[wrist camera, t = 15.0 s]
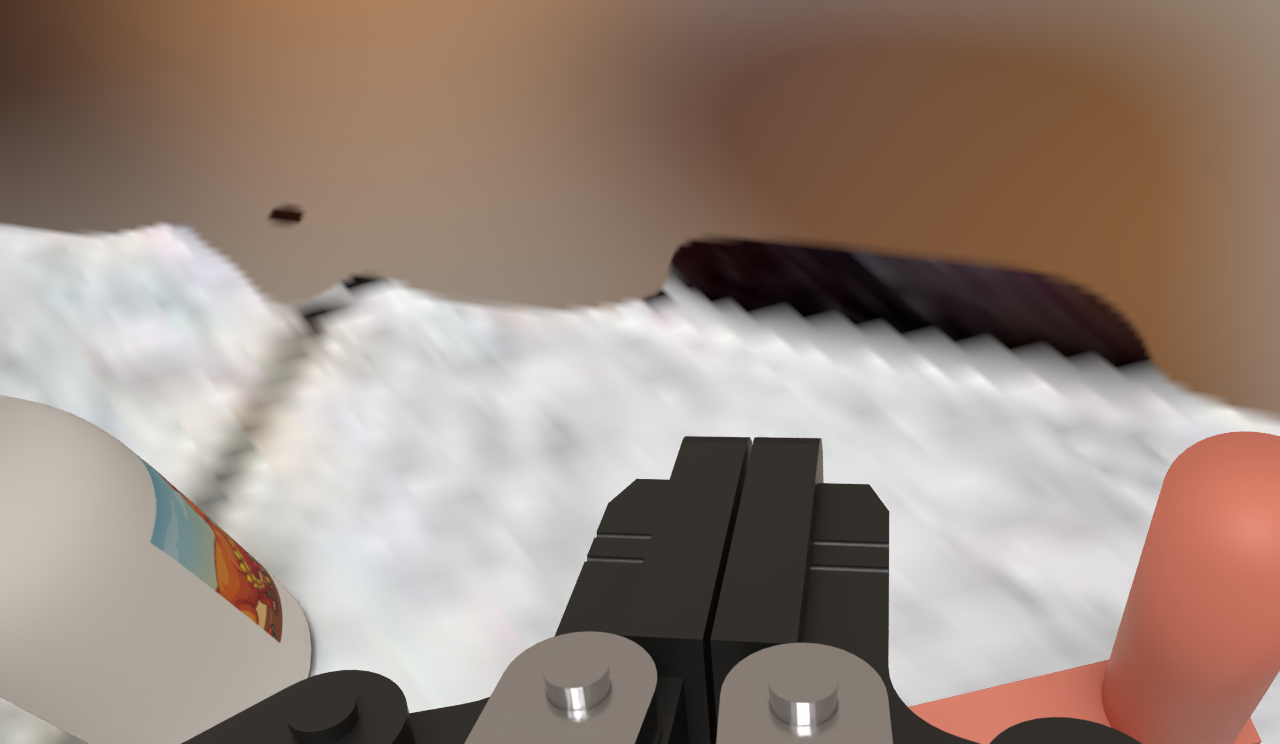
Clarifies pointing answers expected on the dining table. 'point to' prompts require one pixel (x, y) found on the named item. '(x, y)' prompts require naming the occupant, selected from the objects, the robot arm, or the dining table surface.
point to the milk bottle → (127, 593)
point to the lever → (1174, 617)
